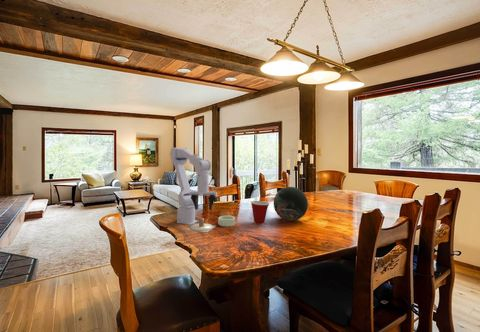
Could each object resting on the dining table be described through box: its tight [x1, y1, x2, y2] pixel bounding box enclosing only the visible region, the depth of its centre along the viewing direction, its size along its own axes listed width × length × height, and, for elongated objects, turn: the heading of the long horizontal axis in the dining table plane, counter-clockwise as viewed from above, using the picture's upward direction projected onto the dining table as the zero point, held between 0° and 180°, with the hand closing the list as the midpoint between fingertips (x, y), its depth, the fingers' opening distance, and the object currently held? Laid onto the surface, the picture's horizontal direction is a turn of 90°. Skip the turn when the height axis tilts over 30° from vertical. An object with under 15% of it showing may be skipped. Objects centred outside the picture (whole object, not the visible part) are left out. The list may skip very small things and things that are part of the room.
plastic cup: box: [250, 200, 270, 225], centre depth 151 cm, size 11×11×12 cm
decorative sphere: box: [273, 186, 309, 222], centre depth 157 cm, size 20×20×20 cm
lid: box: [190, 217, 213, 232], centre depth 138 cm, size 11×11×5 cm
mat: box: [185, 224, 217, 233], centre depth 139 cm, size 12×12×1 cm
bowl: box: [217, 215, 236, 227], centre depth 146 cm, size 9×9×4 cm
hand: (203, 209), depth 138 cm, fingers open, 7 cm apart
